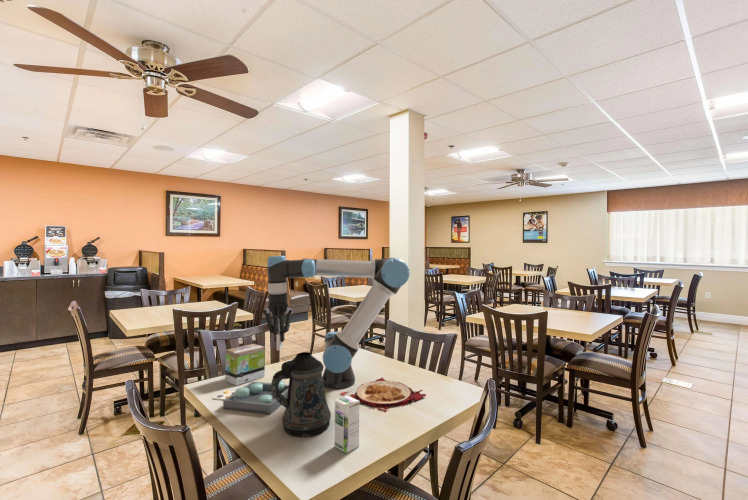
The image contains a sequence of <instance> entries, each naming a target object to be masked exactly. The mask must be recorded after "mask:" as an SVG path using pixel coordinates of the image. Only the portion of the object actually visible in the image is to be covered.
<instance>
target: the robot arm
mask: <svg viewBox="0 0 748 500" xmlns="http://www.w3.org/2000/svg"><path fill="white" fill-rule="evenodd" d="M266 269H267V291H268V293H269V294H268V295H267V296H268V306H267V308H266V309H263V310H262V313H263V314H264V316H265V320H266V324H267V327H268V331H269V333H270V334H273V337H274V338H273V339H274V342H275V343H276V351H282V350H283V349H284V344H283V343H284V341H285V334H287V333H288V332H289V331H290V326H291V319H292V316H293V314H294V312H295V310H294V308H290V306H289V304H288V293H287V291H288V287H287V285H288V283H287V279H301V278H305V279H308V278H314V277H319V276H320V277H338V278H339V277H343V278H345V277H346V278H367V279H368V278H369V279H372V281H373V282H372V283H373V285H372V286H371V287H370V289H369V290H368V292H367V293H366V295H365V296H364V298H363V299H362V301H361V302H360V304H359V305H358V307H357V308H356V309H355V311H354V313H353V314H352V316H351V317H350V319H349V320H348V322H347V323H346V324H345V326H344V327H343V329H342V330H341V331H329V332H327V333H326V334H325V338H324V339H325V347H324V351H323V353H322V364H323V366H325V367H324V369H323V372H322V379H323V385H324V388H329V389H345V388H349V387H351V386H353V385H354V384H355V382H356V376H355V373H354V369H353V367H352V361H353V359H354V357H355V356H356V354H357V352H358V351H359V350H360V345H359V343H360V342H361V340H362V338H363V337H364V336H365V334H366V332H367V331H368V330H369V328H370V327H371V325H372V324H373V322H374V321H375V320H376V318H377V316H378V314H379V313H380V312H381V310H382V309H383V308H384V306H385V305H386V303H387V301H388V300H389V298H390V297H392V296H396V295H397V293H398V292H399V290H400V288H401V287H403V286H404V285H405V284H406V283H407V282H408V281H409V278H410V268H409V265H408V264H407V263H406V262H405V261H404V260H402V259H400V258H398V257H388V258H374V259H372V260H351V259H350V260H347V259H345V260H344V259H324V258H323V259H319V258H317V259H314V258H301V259H292V260H290V259H289V260H288V259H287V257H286V256H285V255H270V256H268V258H267V267H266ZM285 314H286V316H285Z"/></svg>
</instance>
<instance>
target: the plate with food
mask: <svg viewBox="0 0 748 500" xmlns="http://www.w3.org/2000/svg"><path fill="white" fill-rule="evenodd" d="M422 391H424V390H423V389H420V390H416V391H414V390H413V389H412V388H411V387H410V386H407V385H406V384H405V383H402V382H401V381H400V382H399V381H394V380H386V379H385V378H383V377H380V378H378V379H377V378H376V380H372V381H370V382H367V383H366V382H365V383H363V384H360V386H358V387H357V388H356V392H354V393H352V394H350V392H353V390H351V391H349V390H347V391H343V392H341V393H340V395H341V396H342V397H344V396H347V395H348V396H350V397H352V398H354V399H356V400H359V402H360V403H359V405H360V404H361V405H363V404H366V405H368V406H371V407H370V408H369V409H368V410H370V409H373V410H375V408H376V407H377V411H378V412H380V410H381V411H382V412H383V413H387V412H388V411H389V409H390V408H392V407H393V408H394V407H396V406H398V407H401V408H403V407H405V406H408V405H409V401H410V402H413V401H414V402H417V401H419V400H421V399H422V398H423V397H426V396H427V393H421V392H422ZM374 407H375V408H374Z"/></svg>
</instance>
